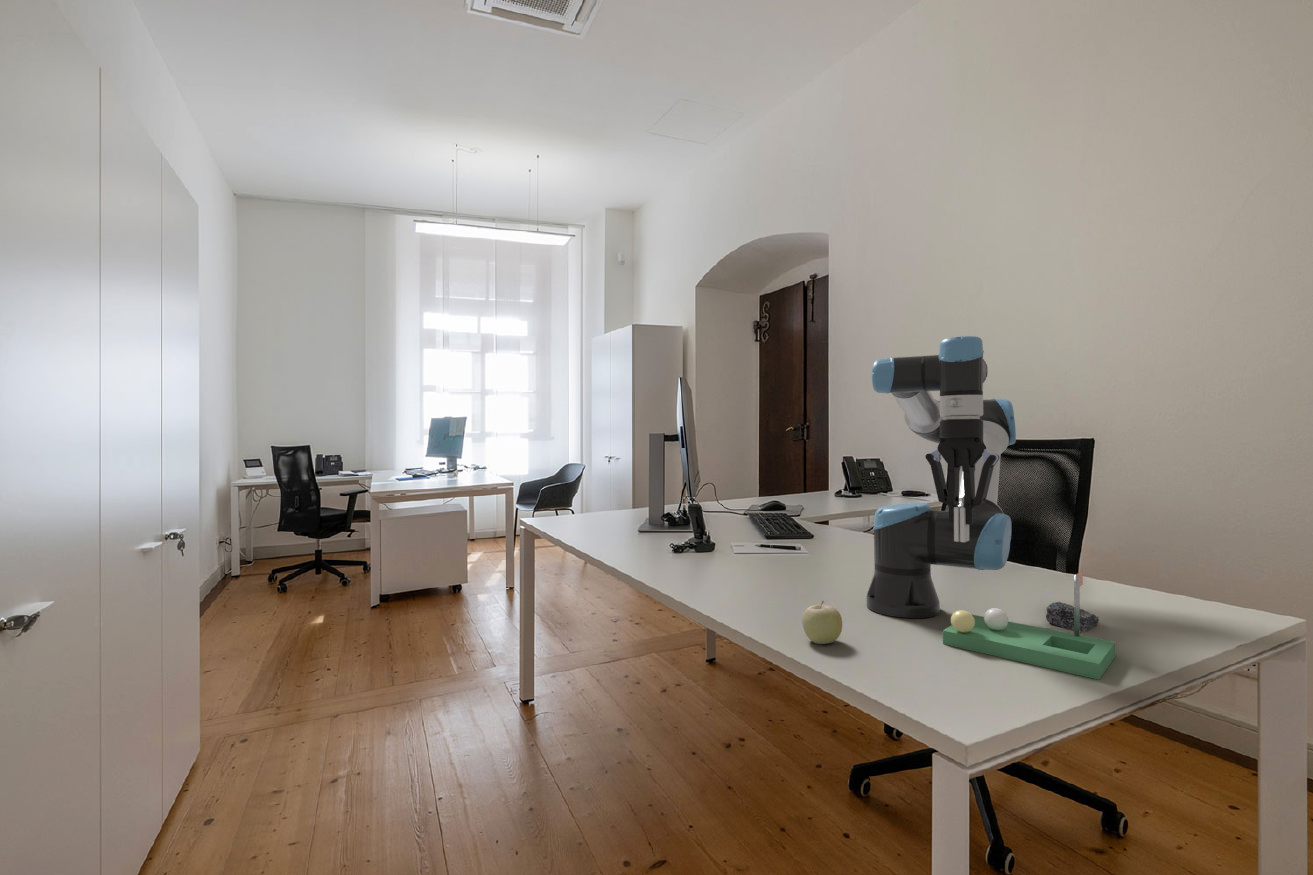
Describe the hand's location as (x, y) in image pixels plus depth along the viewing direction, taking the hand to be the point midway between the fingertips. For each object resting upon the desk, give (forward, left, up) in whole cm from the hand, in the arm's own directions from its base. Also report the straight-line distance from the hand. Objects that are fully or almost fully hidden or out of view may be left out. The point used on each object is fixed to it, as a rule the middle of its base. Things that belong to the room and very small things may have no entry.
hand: (961, 540), depth 120 cm
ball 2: (+6, 0, -14) cm, 15 cm away
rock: (+13, +23, -19) cm, 33 cm away
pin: (+18, +8, -16) cm, 25 cm away
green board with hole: (+11, 0, -18) cm, 21 cm away
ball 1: (+2, -5, -14) cm, 15 cm away
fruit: (-18, -21, -19) cm, 33 cm away
